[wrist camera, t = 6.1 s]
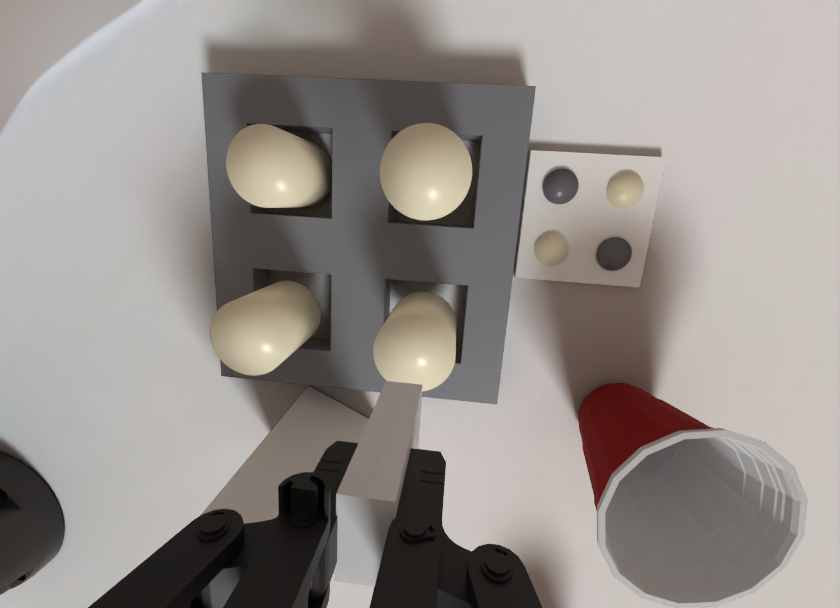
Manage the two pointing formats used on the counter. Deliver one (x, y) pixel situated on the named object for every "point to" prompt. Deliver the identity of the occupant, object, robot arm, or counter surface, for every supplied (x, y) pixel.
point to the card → (587, 217)
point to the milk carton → (288, 454)
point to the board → (372, 218)
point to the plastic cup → (686, 501)
